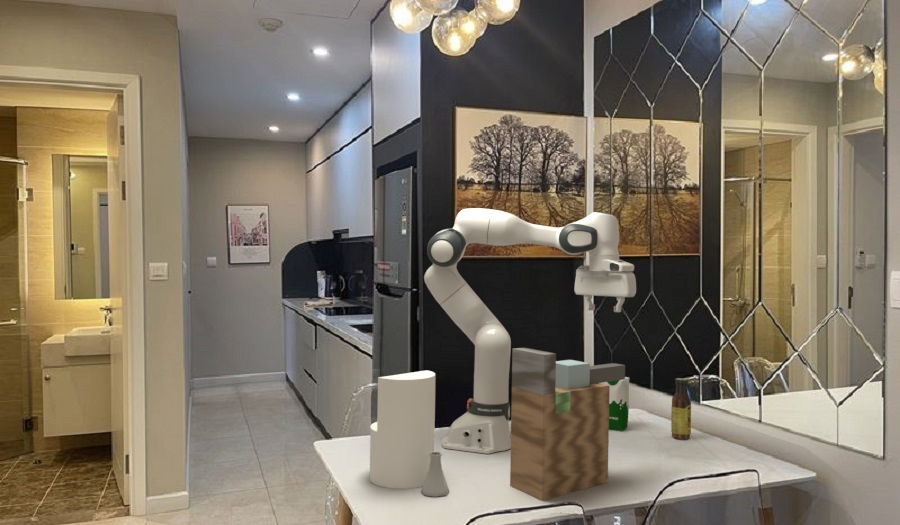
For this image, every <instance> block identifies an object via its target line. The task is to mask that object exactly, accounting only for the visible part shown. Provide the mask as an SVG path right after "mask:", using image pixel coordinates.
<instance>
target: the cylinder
mask: <svg viewBox="0 0 900 525" xmlns="http://www.w3.org/2000/svg"><path fill="white" fill-rule="evenodd" d="M376 413H377V417H376V418H377V420H376V421H375V422H373V423H372V424H371V425H370V433H369V434H370V439H369V440H370V441H369V442H370V444H369V450H370V451H369V480H370V481H371V482H372V483H371V484H374V485H377V486H380V487H383V488H386V489H387V488H389V489H397V490H398V489H403V490H404V489H414V488H418V487H423V484H424V481H425V479H426V476H427V473H428V470H429V466H430V455H429V453H430V452H435V427H436V426H435V421H436V419H435V418H436V373H435V372H434V371H431V370H419V371H414V372H412V371H411V372H407V373H400V374H399V373H398V374H393V375H386V376H379V377H377V412H376Z"/></svg>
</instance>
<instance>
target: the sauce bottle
mask: <svg viewBox="0 0 900 525" xmlns="http://www.w3.org/2000/svg"><path fill="white" fill-rule="evenodd" d="M688 381H689V380H688V378H682V377H681V378H680V377H677V378H675V379H674V383H675V389H674V391H675V393H674V394H673V396H672V398H671V417H670V418H671V423H670V424H671V426H670V427H671V428H670V429H671V430H670V432H671V437H672V438H673V439H676V440H683V441H685V440H686V441H687V440H690V439H691V433H692V402H691V401H692V400H691V399H690V395H689V394H688V392H689V391H688V384H689V382H688Z"/></svg>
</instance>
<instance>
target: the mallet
mask: <svg viewBox="0 0 900 525" xmlns="http://www.w3.org/2000/svg"><path fill="white" fill-rule="evenodd" d="M625 377H626V365H625V364H621V363H616V362H615V363H614V362H613V363H611V362H610V363H605V364H604V363H603V364H595V365H591V363H590V362H583V361H580V360H574V359H564V360H558V361H557V360H556V385H555V386H558V387H562V388H566V389H571V388H578V387H585V386H589V384H595V383H600V384H602V382H609V381H617V380H624V379H625Z"/></svg>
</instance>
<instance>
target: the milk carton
mask: <svg viewBox="0 0 900 525" xmlns="http://www.w3.org/2000/svg"><path fill="white" fill-rule="evenodd" d="M601 384H605V385H609V386H610V391H609V431H616V432H623V431H624V430H626V429H627V428H629V427H628V424H629V411H630V409H629V408H630V407H629V406H630V404H629V403H630V397H629V396H630V377H629V376H628V377H627V376H625V379H624V380H617V381H609V382H602V383H601Z"/></svg>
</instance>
